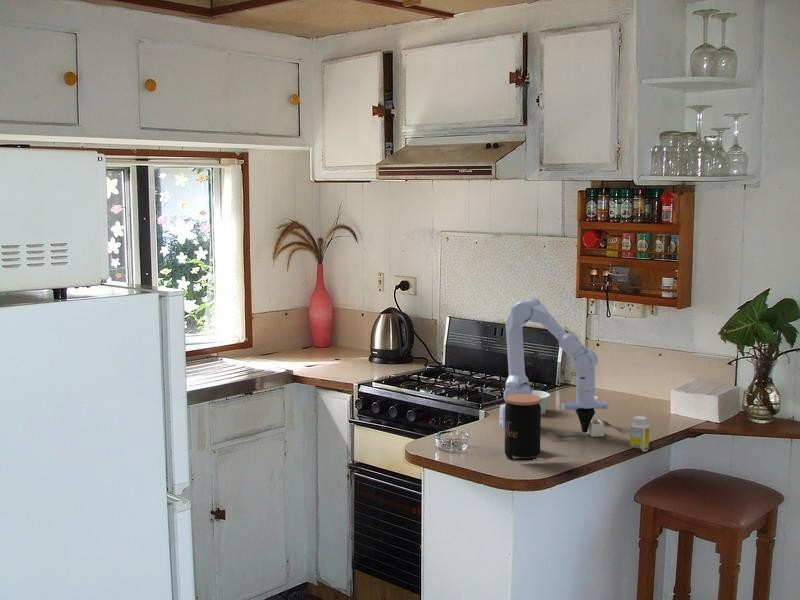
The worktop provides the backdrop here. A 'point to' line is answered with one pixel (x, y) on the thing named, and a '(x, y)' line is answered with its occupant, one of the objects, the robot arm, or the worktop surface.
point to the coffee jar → (522, 426)
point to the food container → (542, 399)
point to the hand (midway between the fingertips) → (584, 431)
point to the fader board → (575, 436)
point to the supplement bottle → (639, 433)
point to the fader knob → (596, 428)
